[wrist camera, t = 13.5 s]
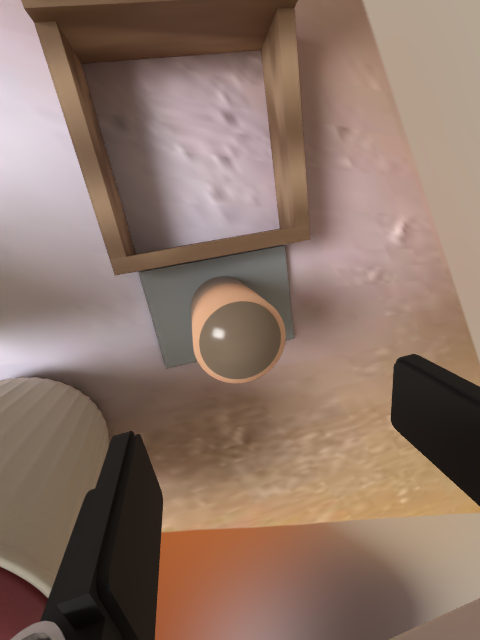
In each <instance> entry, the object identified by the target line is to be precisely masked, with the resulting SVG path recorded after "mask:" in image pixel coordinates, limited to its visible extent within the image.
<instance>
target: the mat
mask: <svg viewBox="0 0 480 640" xmlns="http://www.w3.org/2000/svg"><path fill="white" fill-rule="evenodd" d="M139 276H140V279H141V283H142V286H143V290H144V293H145V296H146V300H147V303H148V307H149V310H150V314H151V317H152V321H153V324H154V328H155V331H156V335H157V338H158V341H159V345H160V348H161V352H162V355H163V359H164V362H165V366H166V369H167V368H172V367H176V366H180V365H184V364H189V363H193V362H197V359H196V357H195V353H194V349H193V337H192V321H191V301H192V298H193V295H194V293H195V292H196V290H197V289H198V287H199V286H200V285H201V284H203V283H204V282H205V281H207V280H209V279H211V278H214V277H218V276H228V277H233V278H236V279H238V280H240V281H241V282H243V283H244V284H245V285H246V286H248V287H249V288H250V289H251V290H253V291H254V292H255V293H257V294H258V295H259V296H260V297H262V298H263V299H264V300H266V301H267V302H268V303H269V304H271V305H272V306H273V307H274V308H275V309H276V310H277V311H278V313H279V314H280V316H281V318H282V320H283V323H284V326H285V332H286V339H285V341H286V340H290V339H294V332H293V322H292V312H291V302H290V292H289V282H288V273H287V263H286V253H285V245H282V246H276V247H271V248H266V249H260V250H255V251H249V252H244V253H238V254H233V255H228V256H222V257H217V258H211V259H206V260H200V261H195V262H190V263H184V264H179V265H173V266H168V267H162V268H157V269H152V270H146V271H141V272H139Z"/></svg>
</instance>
